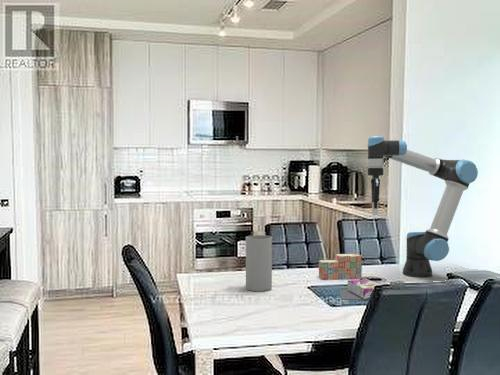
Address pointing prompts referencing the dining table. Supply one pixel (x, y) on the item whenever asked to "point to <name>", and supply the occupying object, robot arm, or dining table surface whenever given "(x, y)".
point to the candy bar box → (361, 287)
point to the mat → (349, 295)
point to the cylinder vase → (258, 263)
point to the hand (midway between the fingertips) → (375, 214)
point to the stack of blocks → (341, 267)
